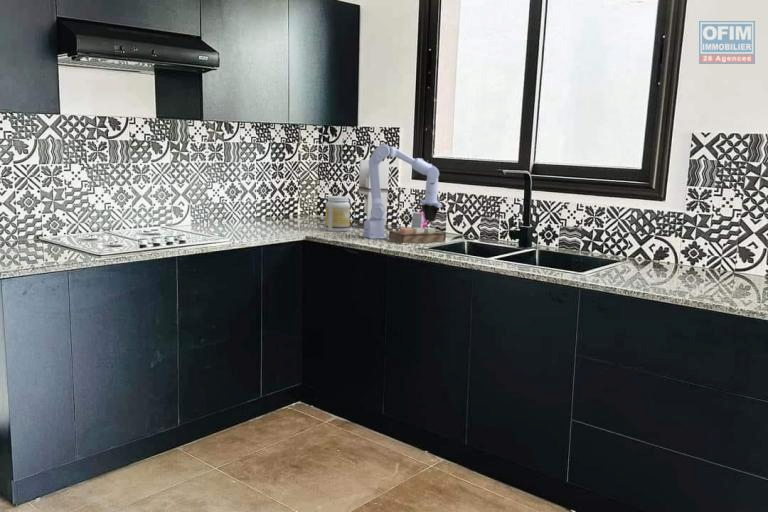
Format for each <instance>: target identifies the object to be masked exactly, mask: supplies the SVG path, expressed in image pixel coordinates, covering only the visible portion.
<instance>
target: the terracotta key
mask: <svg viewBox="0 0 768 512" xmlns="http://www.w3.org/2000/svg"><path fill="white" fill-rule="evenodd" d="M399 231H400V232H401V233H413V229H411V228H408V227H402V228H399Z"/></svg>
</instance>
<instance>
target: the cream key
mask: <svg viewBox="0 0 768 512" xmlns="http://www.w3.org/2000/svg"><path fill="white" fill-rule="evenodd" d="M410 229H413V232H414V233H424V229H422V228H412V227H411V228H410Z"/></svg>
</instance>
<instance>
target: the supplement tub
mask: <svg viewBox="0 0 768 512" xmlns="http://www.w3.org/2000/svg"><path fill="white" fill-rule="evenodd" d="M349 201H350V199H349V196H343V195H329V196H327V201H326V203H325V218H324V220H325V222H324V226H325V227H324V228H325V230H326V231H328V232H333V233H334V232H336V233H341V232H342V233H345V232H348V231H349V230H350V221H351V220H350V219H351V216H350V215H351V203H350V202H349Z"/></svg>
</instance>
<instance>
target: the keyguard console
mask: <svg viewBox="0 0 768 512" xmlns="http://www.w3.org/2000/svg"><path fill="white" fill-rule="evenodd" d="M446 236H447V234H446V232H442V231H438V230H436V231H435V232H431V233H427V232H424V233H414V232H413V233H401V232H400V230H389V233H388V241H392V242H394V241H395V242H394V243H397V242H399V243H398V244H401V243H417V244H430V243H429V242H439V243H445V242H446ZM444 241H445V242H444ZM427 242H428V243H427Z"/></svg>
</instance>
